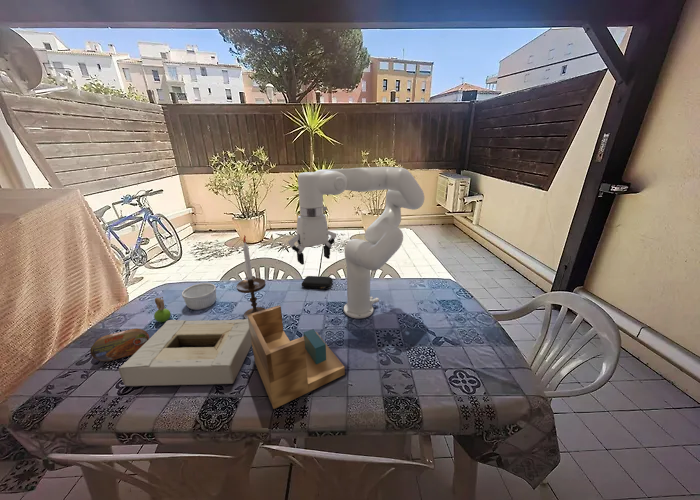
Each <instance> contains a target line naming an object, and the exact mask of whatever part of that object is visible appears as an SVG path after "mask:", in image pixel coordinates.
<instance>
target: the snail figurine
mask: <svg viewBox="0 0 700 500" xmlns="http://www.w3.org/2000/svg"><path fill="white" fill-rule="evenodd" d="M154 303H155V305H156V308H157V310H156V311H155V312H154V314H153V318H154V320H155V321H156V322H158V323H166V321H168V320H170V318H171V311H170V310H169V309H168V308H165V300H164V296H161V297H155V298H154Z"/></svg>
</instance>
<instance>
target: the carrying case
mask: <svg viewBox="0 0 700 500" xmlns="http://www.w3.org/2000/svg"><path fill="white" fill-rule="evenodd" d="M333 282H334V279H333V278H332V277H331V276H322V275H321V276H320V275H319V276H318V275H307V276H305V278H304V279H303V281H302V282H301V286H302V287H303V288H307V289H320V290H322V289H325V290H326V289H329V288H330V287H332V284H333Z"/></svg>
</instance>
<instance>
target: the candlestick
mask: <svg viewBox="0 0 700 500" xmlns="http://www.w3.org/2000/svg"><path fill="white" fill-rule="evenodd" d="M246 238H247V237H246V235H245V234H244V235H243V246H242V249H243V251H242V252H243V257H244V264H245V270H246V277H244V279H243V280H240V281H239V282H238V283H237V284H236V291H237V292H238V293H241V294H250V298H249V302H250V303H251V304H250V306H251V307H252V308H250V309H248V310H246V311H245V312H244V313H243V319H248V316H247V315H248V314H252V313H255V312H258V311H262V310H265V309H266V308H265V307H261V306H260V307H259V306H258V302H257V300H258V298H257V297H256V296H255V295H256V294H255V293H257V292H260V291H262V290H263V289H264V288H265V287H266V286H267V285H266V280H264V279H263V278H261V277H256V276H255V275H253V270H252V269H253V268H252V264H251V263H252V262H251V256H250V249H249V245H248V244H247V242H246V241H247V240H246Z"/></svg>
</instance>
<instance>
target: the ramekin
mask: <svg viewBox="0 0 700 500" xmlns="http://www.w3.org/2000/svg"><path fill="white" fill-rule="evenodd" d="M181 297H182V298H183V300H184V302H185V305H186V307H187V308H188V309H190V310H195V311H198V310H204V309H207V308H209V307H211V306H213V305H214V303H216V300H217V287H216V285H215V284H214V283H210V282H201V283H196V284H192V285H190V286H188V287H186V288H185V289H184V290H183V291H182V292H181Z"/></svg>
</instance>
